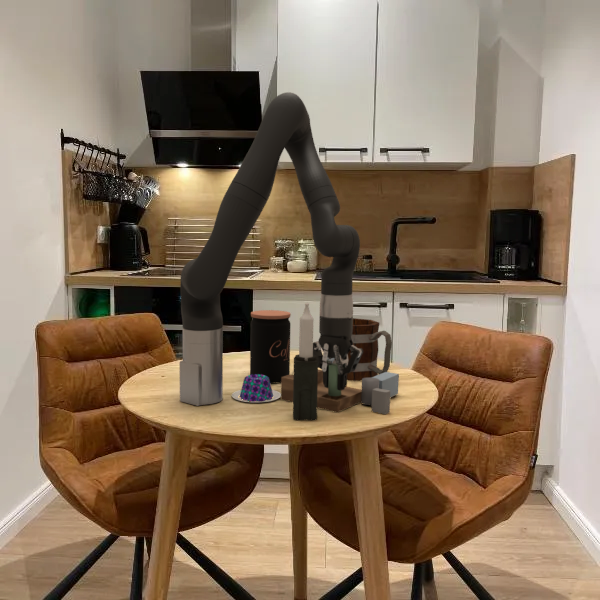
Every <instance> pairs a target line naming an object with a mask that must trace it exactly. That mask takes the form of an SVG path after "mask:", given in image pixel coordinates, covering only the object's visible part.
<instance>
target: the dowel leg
mask: <svg viewBox="0 0 600 600" xmlns="http://www.w3.org/2000/svg"><path fill="white" fill-rule="evenodd" d="M338 374H339V372H338V365H337V364H336V363H331V364H329V374H328V395H329V396H341V391H340V390H338V389H337V385H338Z"/></svg>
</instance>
